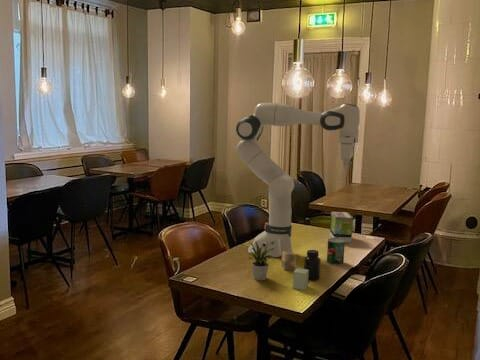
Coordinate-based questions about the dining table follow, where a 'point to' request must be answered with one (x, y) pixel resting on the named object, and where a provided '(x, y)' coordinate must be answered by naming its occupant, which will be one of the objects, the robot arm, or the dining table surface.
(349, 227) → the tea box
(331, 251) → the canned tomato
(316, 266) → the supplement bottle
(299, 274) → the sage block
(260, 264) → the house plant
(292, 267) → the oak block
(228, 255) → the dining table surface
